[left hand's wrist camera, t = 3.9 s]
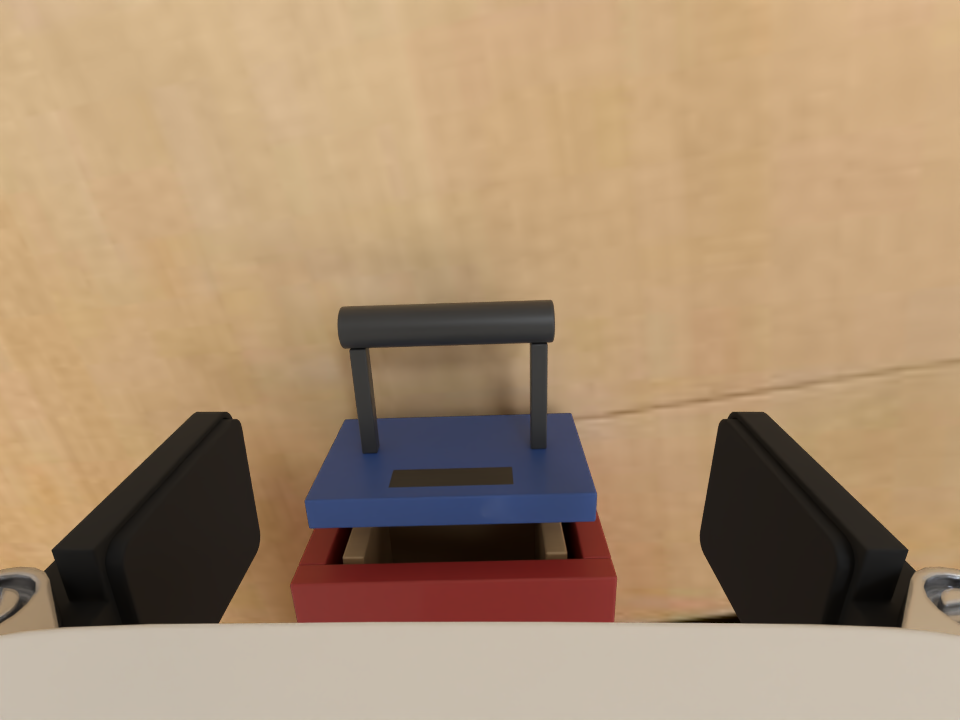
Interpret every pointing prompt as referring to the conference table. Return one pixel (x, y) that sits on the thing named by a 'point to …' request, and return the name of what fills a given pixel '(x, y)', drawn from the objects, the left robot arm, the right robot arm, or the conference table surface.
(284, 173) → the conference table surface
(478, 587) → the red rectangular box
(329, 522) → the drawer
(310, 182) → the conference table surface
